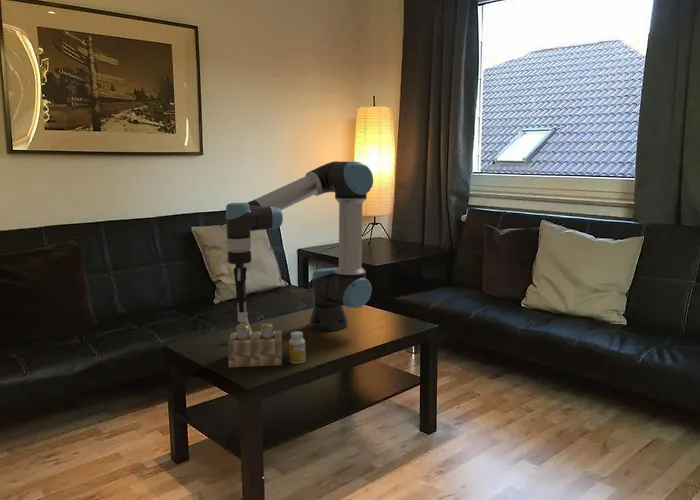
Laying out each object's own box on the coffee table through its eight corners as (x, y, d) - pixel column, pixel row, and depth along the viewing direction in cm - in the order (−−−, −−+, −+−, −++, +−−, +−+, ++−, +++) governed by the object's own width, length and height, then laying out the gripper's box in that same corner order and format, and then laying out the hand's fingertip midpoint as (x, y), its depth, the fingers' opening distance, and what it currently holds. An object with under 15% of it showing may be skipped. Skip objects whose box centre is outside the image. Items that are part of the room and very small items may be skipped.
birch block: (281, 352, 215) (281, 330, 214) (281, 364, 203) (280, 341, 202) (232, 355, 214) (231, 332, 212) (228, 367, 202) (227, 343, 200)
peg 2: (274, 345, 210) (273, 322, 209) (273, 349, 206) (272, 326, 205) (262, 346, 210) (261, 323, 209) (261, 350, 206) (260, 326, 205)
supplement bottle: (289, 358, 209) (288, 330, 208) (305, 358, 210) (304, 330, 208) (289, 364, 204) (288, 335, 202) (305, 363, 204) (304, 335, 203)
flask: (250, 342, 227) (249, 316, 226) (231, 341, 229) (230, 315, 227) (257, 336, 234) (256, 311, 233) (239, 335, 236) (238, 310, 234)
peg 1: (250, 346, 210) (249, 323, 208) (249, 350, 206) (248, 327, 204) (238, 347, 209) (237, 324, 208) (237, 351, 205) (236, 327, 204)
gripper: (229, 247, 208) (232, 316, 212) (225, 254, 195) (228, 326, 199) (252, 247, 209) (254, 315, 213) (249, 253, 196) (252, 325, 200)
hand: (242, 320), depth 206 cm, fingers closed
